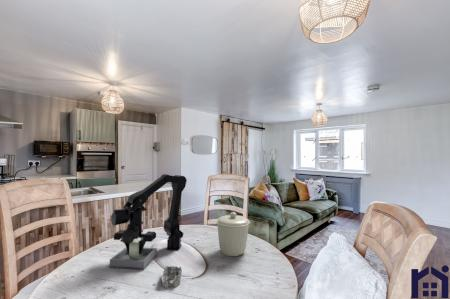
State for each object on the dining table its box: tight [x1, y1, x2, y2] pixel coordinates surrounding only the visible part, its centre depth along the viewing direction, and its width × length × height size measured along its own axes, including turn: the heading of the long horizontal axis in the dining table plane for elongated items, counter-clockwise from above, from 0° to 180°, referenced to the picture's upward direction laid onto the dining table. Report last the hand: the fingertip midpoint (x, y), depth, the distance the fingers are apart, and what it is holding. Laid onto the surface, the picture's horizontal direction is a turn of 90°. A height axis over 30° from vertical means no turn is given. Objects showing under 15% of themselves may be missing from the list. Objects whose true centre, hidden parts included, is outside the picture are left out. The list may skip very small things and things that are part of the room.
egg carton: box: [160, 265, 183, 288], centre depth 89 cm, size 11×8×4 cm
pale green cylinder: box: [129, 239, 141, 259], centre depth 104 cm, size 5×5×7 cm
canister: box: [215, 211, 251, 257], centre depth 116 cm, size 18×18×21 cm
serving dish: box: [109, 246, 158, 271], centre depth 104 cm, size 16×14×4 cm
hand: (134, 253), depth 104 cm, fingers closed on pale green cylinder, 5 cm apart
